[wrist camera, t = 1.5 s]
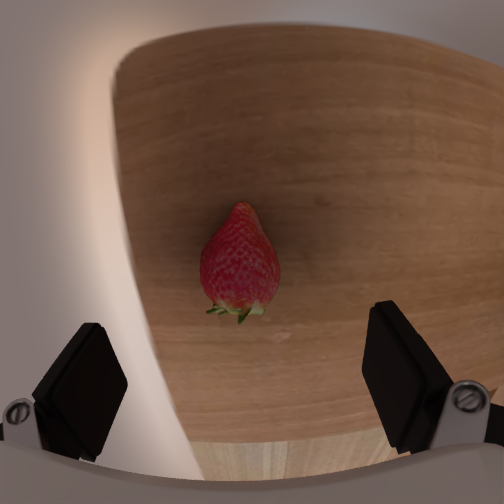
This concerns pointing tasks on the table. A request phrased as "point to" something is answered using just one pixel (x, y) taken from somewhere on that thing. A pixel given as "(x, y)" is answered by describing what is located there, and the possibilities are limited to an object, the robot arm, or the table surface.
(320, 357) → the table surface
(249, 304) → the fruit
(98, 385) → the robot arm
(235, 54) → the table surface
